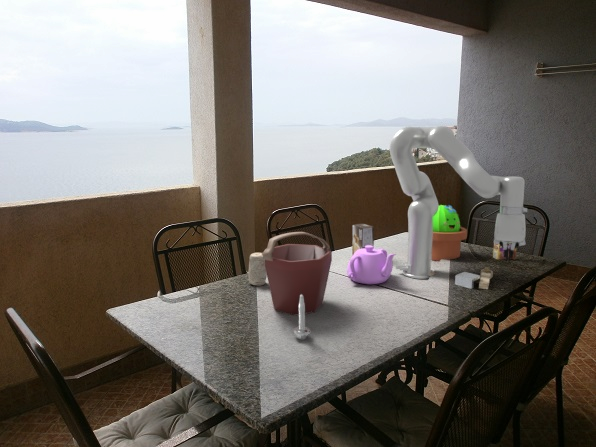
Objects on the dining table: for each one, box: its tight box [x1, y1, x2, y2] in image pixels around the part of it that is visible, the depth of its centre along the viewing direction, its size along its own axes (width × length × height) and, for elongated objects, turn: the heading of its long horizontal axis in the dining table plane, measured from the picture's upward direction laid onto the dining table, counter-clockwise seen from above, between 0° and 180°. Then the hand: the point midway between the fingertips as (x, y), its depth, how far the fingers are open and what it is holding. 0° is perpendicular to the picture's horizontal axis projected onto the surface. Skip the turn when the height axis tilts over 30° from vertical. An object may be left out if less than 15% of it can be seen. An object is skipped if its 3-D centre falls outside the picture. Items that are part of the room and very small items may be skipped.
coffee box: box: [351, 223, 375, 257], centre depth 201 cm, size 9×6×16 cm
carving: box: [247, 252, 268, 287], centre depth 170 cm, size 6×8×12 cm
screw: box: [293, 294, 311, 340], centre depth 124 cm, size 13×5×5 cm
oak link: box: [478, 266, 494, 290], centre depth 168 cm, size 18×4×3 cm, turn 153°
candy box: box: [492, 241, 518, 260], centre depth 199 cm, size 9×4×15 cm, turn 98°
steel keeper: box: [454, 271, 481, 289], centre depth 165 cm, size 6×6×4 cm
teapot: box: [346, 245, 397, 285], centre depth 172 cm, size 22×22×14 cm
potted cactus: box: [431, 204, 468, 262], centre depth 205 cm, size 22×22×25 cm
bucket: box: [261, 231, 333, 316], centre depth 148 cm, size 24×22×25 cm
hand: (508, 259), depth 163 cm, fingers closed
